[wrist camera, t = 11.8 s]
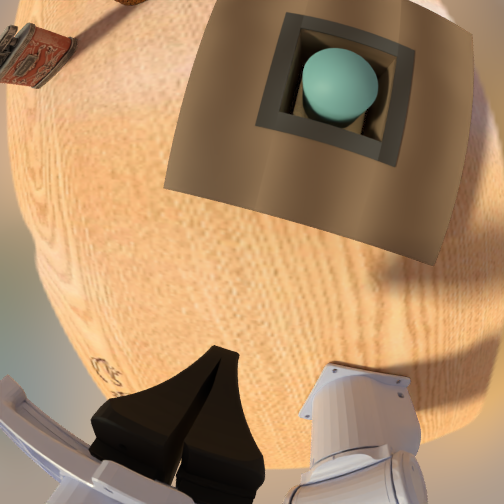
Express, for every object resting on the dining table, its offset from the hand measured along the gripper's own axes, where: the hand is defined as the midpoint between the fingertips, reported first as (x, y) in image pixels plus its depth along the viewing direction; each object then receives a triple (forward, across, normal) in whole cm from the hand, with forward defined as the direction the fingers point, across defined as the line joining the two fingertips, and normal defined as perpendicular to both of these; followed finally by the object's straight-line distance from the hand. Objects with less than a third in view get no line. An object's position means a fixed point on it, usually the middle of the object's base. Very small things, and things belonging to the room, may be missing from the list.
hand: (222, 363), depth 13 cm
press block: (+9, -2, -15) cm, 18 cm away
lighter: (+10, +28, -18) cm, 35 cm away
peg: (+9, -2, -15) cm, 17 cm away
